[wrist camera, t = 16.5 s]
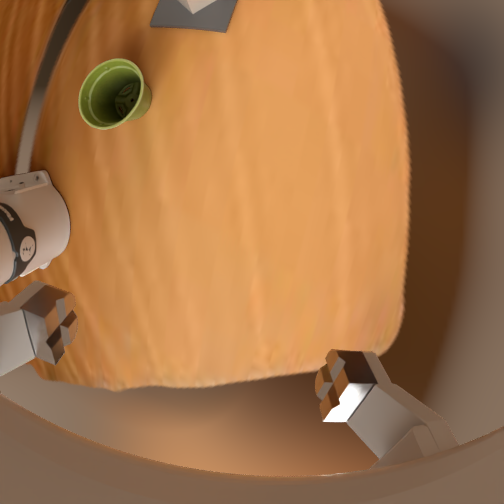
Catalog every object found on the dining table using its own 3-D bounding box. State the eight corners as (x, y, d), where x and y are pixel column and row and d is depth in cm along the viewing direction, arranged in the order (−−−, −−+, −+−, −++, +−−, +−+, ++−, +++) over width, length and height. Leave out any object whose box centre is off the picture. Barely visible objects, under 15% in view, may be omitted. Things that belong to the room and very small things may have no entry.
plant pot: (174, 105, 35) (157, 94, 27) (125, 143, 37) (98, 144, 29) (144, 61, 32) (122, 44, 24) (97, 100, 34) (68, 93, 26)
